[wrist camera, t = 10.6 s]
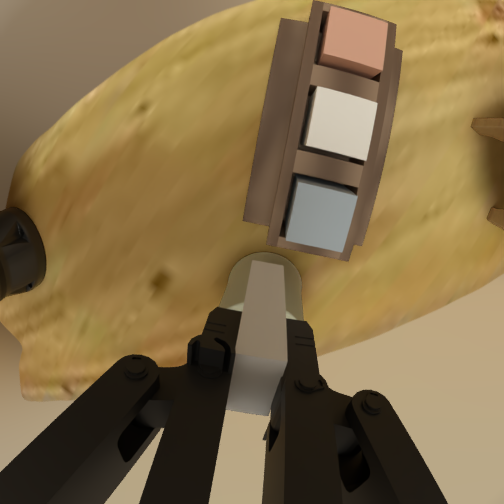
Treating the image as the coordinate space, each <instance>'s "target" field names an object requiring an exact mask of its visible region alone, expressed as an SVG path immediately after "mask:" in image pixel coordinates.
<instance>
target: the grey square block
mask: <svg viewBox="0 0 504 504" xmlns="http://www.w3.org/2000/svg"><path fill="white" fill-rule="evenodd" d="M357 198H358V196H357V195H356V194H354V193H353V192H352V191H350V190H349V189H348V188H346V187H345V186H344V185H342V184H338V183H334V182H330V181H326V180H321V179H317V178H313V177H308V176H304V175H299V174H295V177H294V182H293V187H292V192H291V196H290V201H289V206H288V210H287V215H286V219H285V233H286V241H290V242H295V243H300V244H304V245H309V246H314V247H319V248H323V249H328V250H333V251H337V252H343V249H344V245H345V242H346V238H347V235H348V231H349V228H350V224H351V221H352V217H353V213H354V209H355V206H356V202H357Z"/></svg>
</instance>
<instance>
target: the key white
mask: <svg viewBox="0 0 504 504" xmlns="http://www.w3.org/2000/svg"><path fill="white" fill-rule="evenodd" d="M377 104H378V103H376V102H373V101H370V100H367V99H363V98H360V97H357V96H353V95H350V94H346V93H343V92H339V91H335V90H331V89H327V88H323V87H319V86H317V88H316V89H315V91H314V93H313V94H312V96H311V98H310V102H309V107H308V112H307V117H306V123H305V128H304V133H303V138H302V143H301V145H304V146H308V147H313V148H317V149H321V150H325V151H329V152H333V153H337V154H341V155H345V156H349V157H353V158H357V159H361V160H365V161H366V160H367V156H368V151H369V146H370V141H371V136H372V131H373V126H374V121H375V116H376V110H377Z"/></svg>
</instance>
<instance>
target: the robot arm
mask: <svg viewBox="0 0 504 504" xmlns="http://www.w3.org/2000/svg"><path fill="white" fill-rule="evenodd" d="M45 270H46V259H45V252H44V248H43V244H42V241H41V238H40V236H39V233H38V231H37V229H36V227H35V225H34V224H33V222H32V221H31V219H30V218H29V217H28V216H27V215H26V214H25V213H24V212H23V211H22V210H20V209H18V208H15V207H10V208H7V209H5V210H3V211H0V301H1V300H2V299H4V298H5V297H7V296H11V295H15V294H20V293H24V292H28V291H31V290H32V289H34V288H35V287H36V286H38V285H39V284H40V283H41V282H42V280H43V278H44V275H45ZM225 410H231V411H237V412H243V413H249V414H256V415H263V416H268V415H269V413H270V410H271V419H270V422H269V424H268V427H267V430H266V432H265V434H264V437H263V440H266V454H265V470H264V483H263V496H262V504H448V503H447V501H446V499H445V497H444V495H443V494H442V492H441V490H440V488H439V486H438V485H437V483H436V481H435V479H434V477H433V475H432V474H431V472H430V470H429V468H428V467H427V465H426V463H425V461H424V460H423V458H422V456H421V455H420V453H419V451H418V449H417V448H416V446H415V444H414V442H413V441H412V439H411V437H410V436H409V434H408V432H407V431H406V429H405V427H404V425H403V424H402V422H401V420H400V419H399V417H398V415H397V414H396V412H395V411H394V409H393V407H392V406H391V404H390V402H389V401H388V400H387V399H386V397H385V396H383V395H382V394H380V393H379V392H376V391H372V390H362V391H359V392H357V393H356V394H355V395H354V396H353V397H350V396H347V395H344V394H341V393H338V392H336V391H333V390H332V389H330V388H329V387H328V385H327V383H326V380H325V379H324V378H323V377H322V376H321V375H320V374H319V368H318V361H317V354H316V348H315V341H314V335H313V330H312V328H311V327H310V325H309V324H308V323H307V321H301V320H295V319H288V318H286V305H285V284H284V266H283V265H277V264H272V263H266V262H261V261H255V260H252V264H251V269H250V274H249V280H248V285H247V290H246V295H245V300H244V306H243V311H237V310H231V309H226V308H221V307H217V308H215V309H214V310H213V311H211V312H210V313H209V316H208V319H207V321H206V324H205V327H204V330H203V332H202V335H198V336H196V337H194V338H192V339H191V340H190V342H189V343H188V351H187V363H186V364H184V365H182V366H179V367H158V366H157V364H156V362H155V361H153V360H152V359H151V358H149V357H146V356H143V355H134V354H132V355H128V356H124V357H123V358H121V359H120V360H118V361H117V362H116V363H115V364H114V365H113V366H112V367H111V368H110V369H108V370H107V371H106V372H105V373H104V374H103V375H102V376H101V377H100V378H99V379H98V380H97V381H96V382H94V383H93V384H92V385H91V386H90V387H89V388H88V389H87V390H86V391H85V392H84V393H83V394H82V395H81V396H80V397H78V398H77V399H76V400H75V401H74V402H73V403H72V404H71V405H70V406H69V407H68V408H67V409H66V410H65V411H64V412H63V413H62V414H61V415H59V416H58V417H57V418H56V419H55V420H54V421H53V422H52V423H51V424H50V425H49V426H48V427H47V428H46V429H45V430H44V431H43V432H41V433H40V434H39V435H38V436H37V437H36V438H35V439H34V440H33V441H32V442H31V443H30V444H29V445H28V446H27V447H26V448H25V449H24V450H23V451H22V452H21V453H20V454H19V455H18V456H16V457H15V458H14V459H13V460H12V461H11V462H10V463H9V464H8V466H6V467H5V468H4V469H3V470H2V471H1V472H0V504H104V503H105V502H106V501H107V499H108V498H109V497H110V495H111V494H112V493H113V492H114V490H115V489H116V488H117V486H118V485H119V484H120V483H121V481H122V480H123V479H124V477H125V476H126V475H127V473H128V472H129V471H130V470H131V468H132V467H133V466H134V464H135V463H136V462H137V460H138V459H139V458H140V456H141V455H142V454H143V452H144V451H145V450H146V448H147V447H148V446H149V444H150V443H151V442H152V440H153V439H154V438H155V436H156V435H157V433H158V432H159V431H160V429H161V428H164V431H163V434H162V437H161V440H160V442H159V445H158V448H157V451H156V454H155V457H154V461H153V464H152V466H151V469H150V472H149V475H148V478H147V481H146V484H145V488H144V490H143V493H142V496H141V500H140V503H139V504H208V503H209V498H210V492H211V487H212V481H213V476H214V471H215V465H216V460H217V454H218V449H219V443H220V438H221V432H222V427H223V421H224V416H225Z"/></svg>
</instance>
